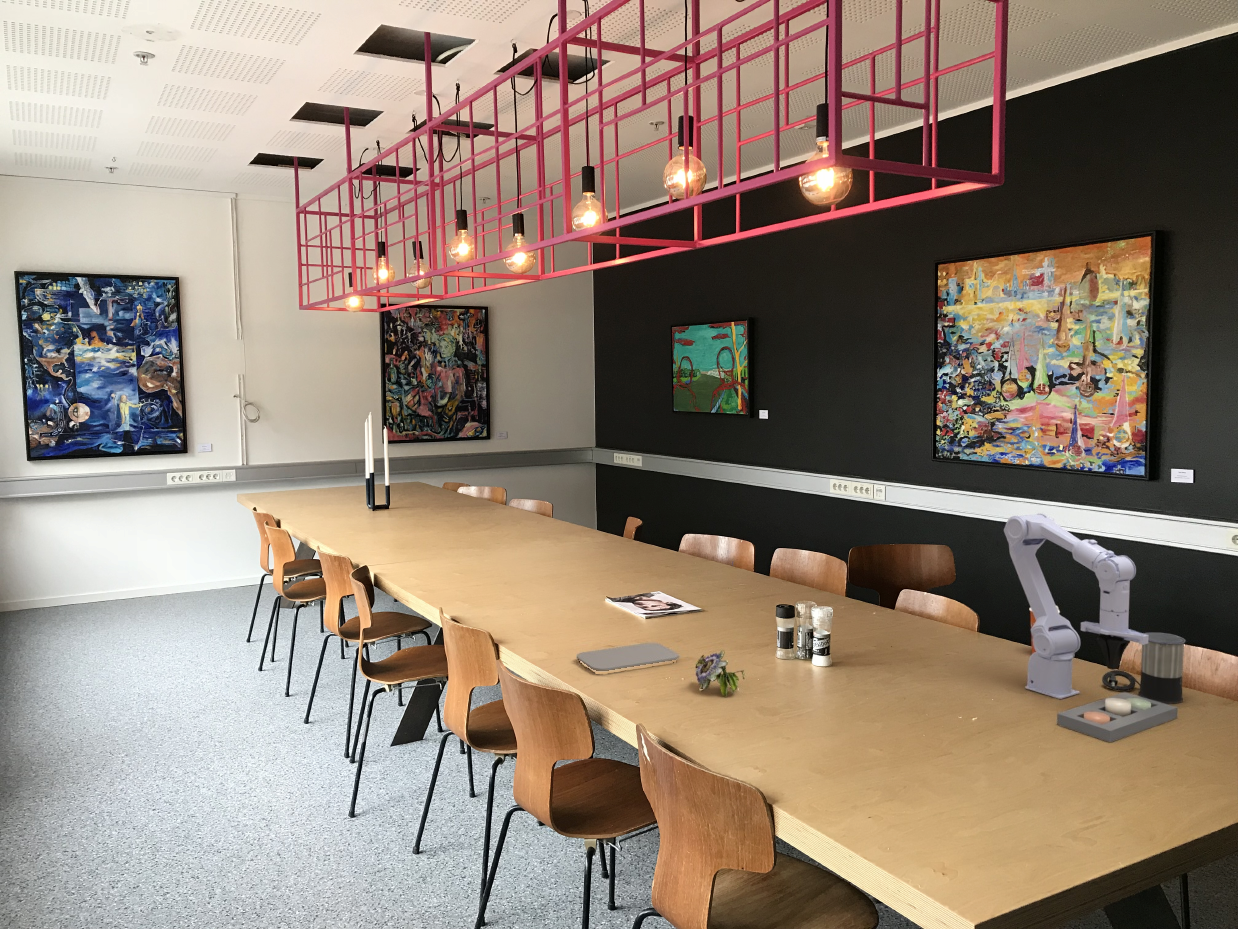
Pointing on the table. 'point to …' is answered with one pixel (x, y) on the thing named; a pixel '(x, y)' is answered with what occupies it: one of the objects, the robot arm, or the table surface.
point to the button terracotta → (1097, 717)
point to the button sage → (1139, 703)
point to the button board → (1117, 719)
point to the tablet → (627, 656)
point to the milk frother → (1156, 670)
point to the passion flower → (716, 673)
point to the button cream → (1118, 706)
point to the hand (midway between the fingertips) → (1112, 668)
